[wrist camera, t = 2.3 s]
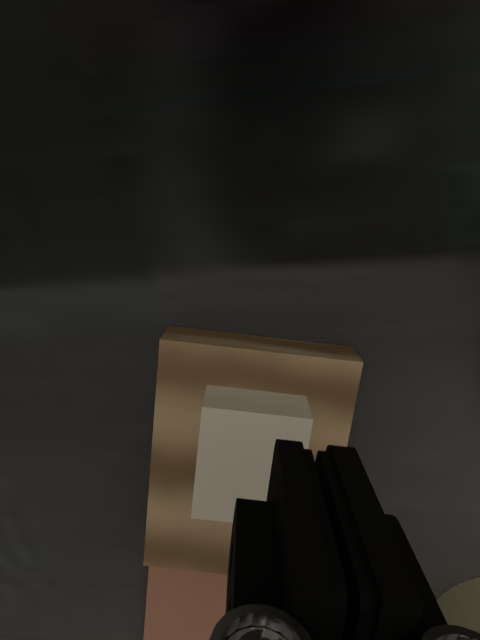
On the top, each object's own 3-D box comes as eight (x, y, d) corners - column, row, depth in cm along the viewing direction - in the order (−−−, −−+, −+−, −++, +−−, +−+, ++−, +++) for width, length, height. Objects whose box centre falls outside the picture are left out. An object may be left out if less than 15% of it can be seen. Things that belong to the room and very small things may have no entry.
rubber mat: (151, 539, 34) (150, 543, 33) (312, 556, 34) (313, 560, 33) (142, 659, 37) (141, 664, 36) (290, 674, 37) (291, 679, 36)
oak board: (168, 325, 29) (159, 339, 27) (352, 346, 30) (363, 362, 27) (152, 533, 34) (143, 565, 31) (313, 551, 34) (320, 584, 31)
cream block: (206, 384, 27) (201, 406, 24) (306, 395, 27) (313, 419, 24) (196, 486, 29) (190, 518, 26) (289, 496, 29) (294, 529, 26)
